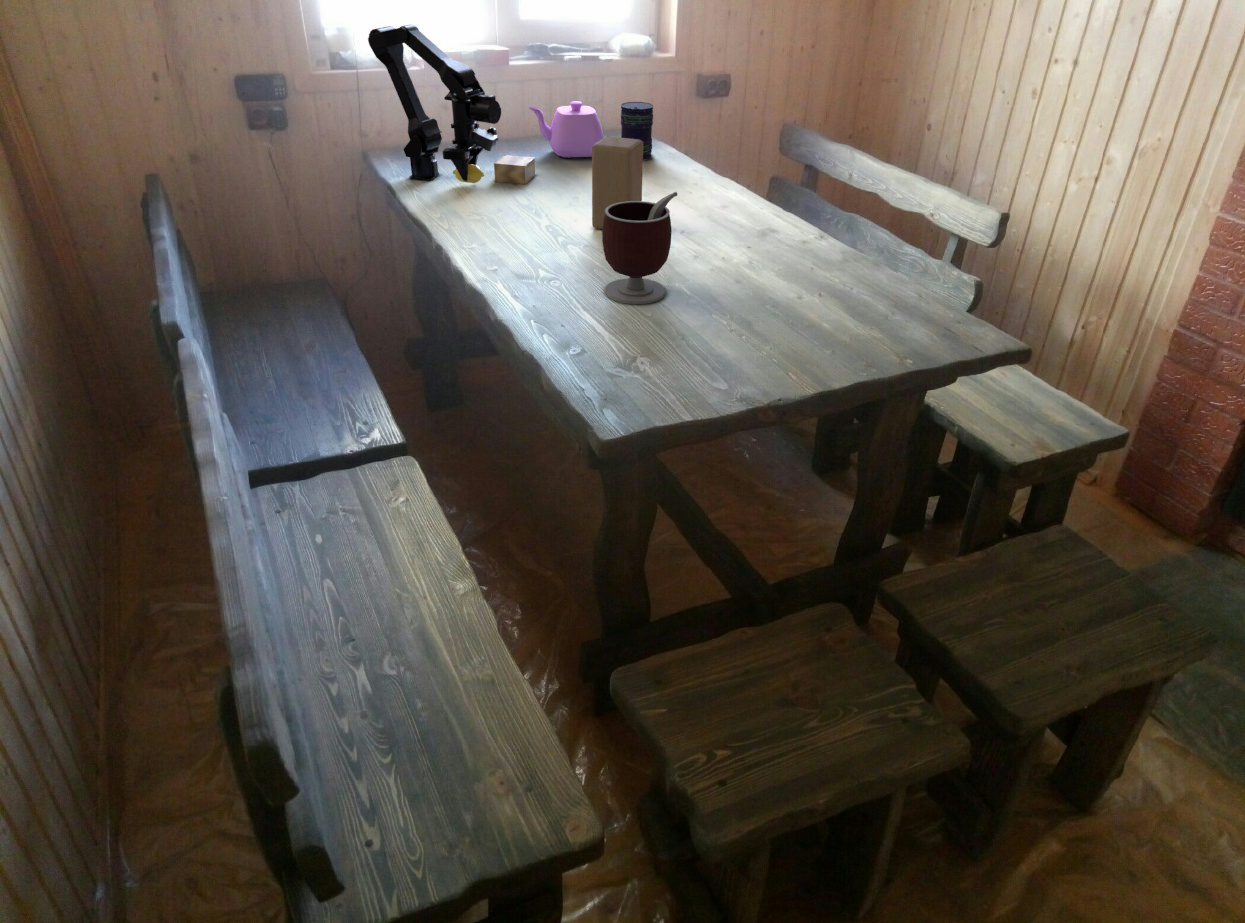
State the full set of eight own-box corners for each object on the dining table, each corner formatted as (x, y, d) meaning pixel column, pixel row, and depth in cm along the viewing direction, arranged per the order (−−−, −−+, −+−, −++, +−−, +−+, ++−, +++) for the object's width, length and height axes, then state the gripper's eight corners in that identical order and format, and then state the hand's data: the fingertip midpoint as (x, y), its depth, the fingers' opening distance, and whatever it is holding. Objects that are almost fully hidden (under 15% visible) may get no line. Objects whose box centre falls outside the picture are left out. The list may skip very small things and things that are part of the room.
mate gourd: (617, 310, 175) (619, 211, 164) (591, 284, 185) (591, 190, 174) (687, 298, 180) (692, 201, 169) (658, 274, 191) (661, 182, 179)
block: (642, 221, 219) (644, 139, 208) (629, 234, 211) (631, 149, 200) (604, 216, 222) (605, 134, 211) (590, 229, 214) (590, 144, 203)
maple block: (494, 181, 246) (493, 163, 243) (505, 172, 253) (504, 154, 250) (525, 184, 244) (524, 165, 241) (535, 175, 251) (534, 157, 249)
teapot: (597, 142, 283) (597, 92, 274) (607, 160, 265) (607, 107, 257) (527, 144, 279) (524, 94, 271) (532, 162, 262) (529, 109, 254)
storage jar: (622, 151, 274) (623, 101, 266) (653, 153, 273) (655, 102, 265) (617, 160, 266) (618, 108, 257) (649, 161, 265) (651, 109, 256)
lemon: (450, 183, 241) (448, 165, 238) (457, 178, 244) (455, 160, 242) (481, 186, 239) (480, 168, 236) (487, 181, 243) (486, 163, 240)
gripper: (480, 129, 223) (484, 190, 232) (504, 113, 238) (507, 171, 247) (439, 126, 225) (445, 187, 234) (466, 110, 240) (470, 168, 249)
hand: (468, 178), depth 241 cm, fingers closed on lemon, 5 cm apart
